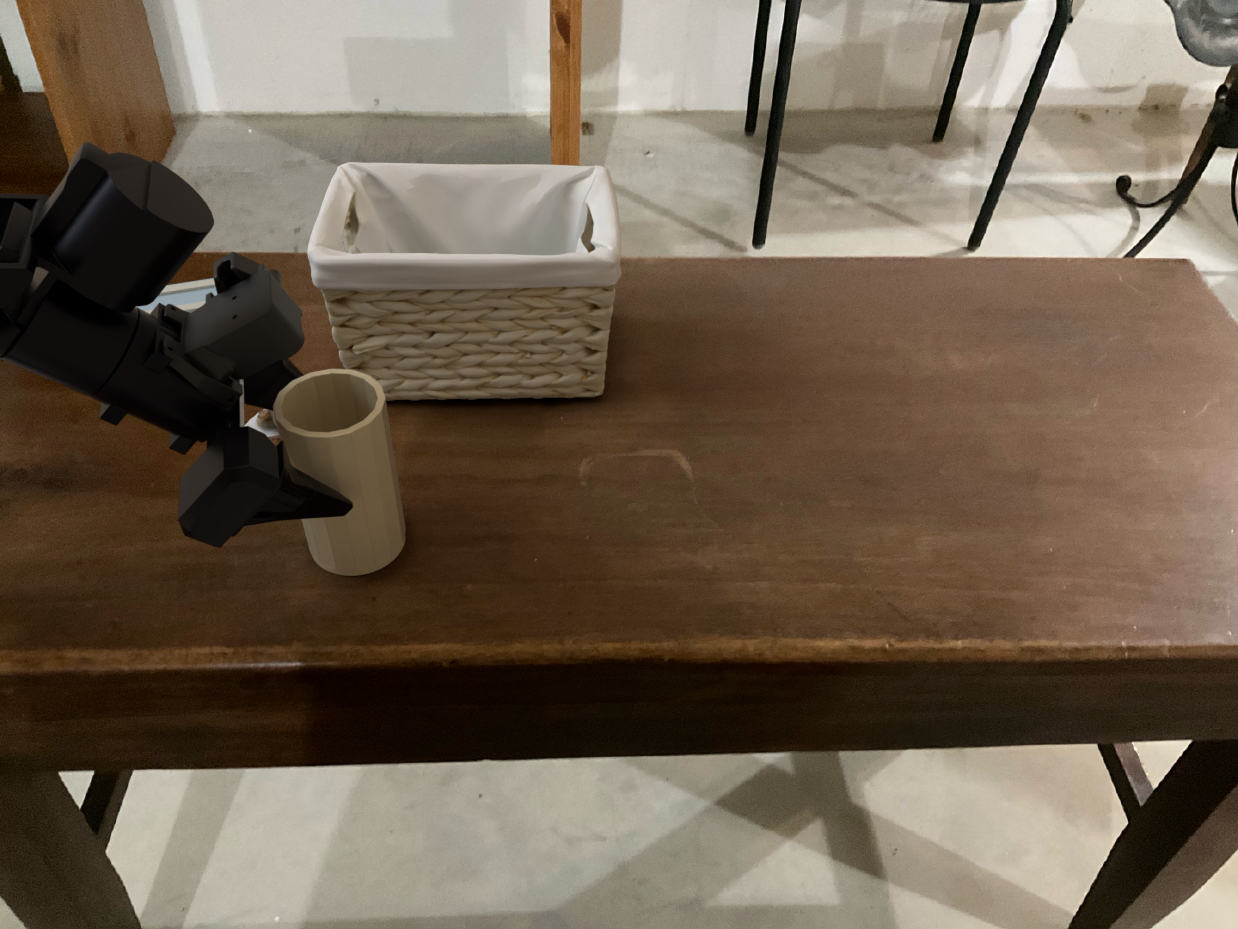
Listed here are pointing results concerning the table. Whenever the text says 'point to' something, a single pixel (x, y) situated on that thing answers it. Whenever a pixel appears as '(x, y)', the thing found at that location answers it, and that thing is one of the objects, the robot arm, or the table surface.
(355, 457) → the cup
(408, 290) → the basket
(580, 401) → the table surface
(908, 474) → the table surface
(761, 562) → the table surface
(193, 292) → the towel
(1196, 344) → the table surface
